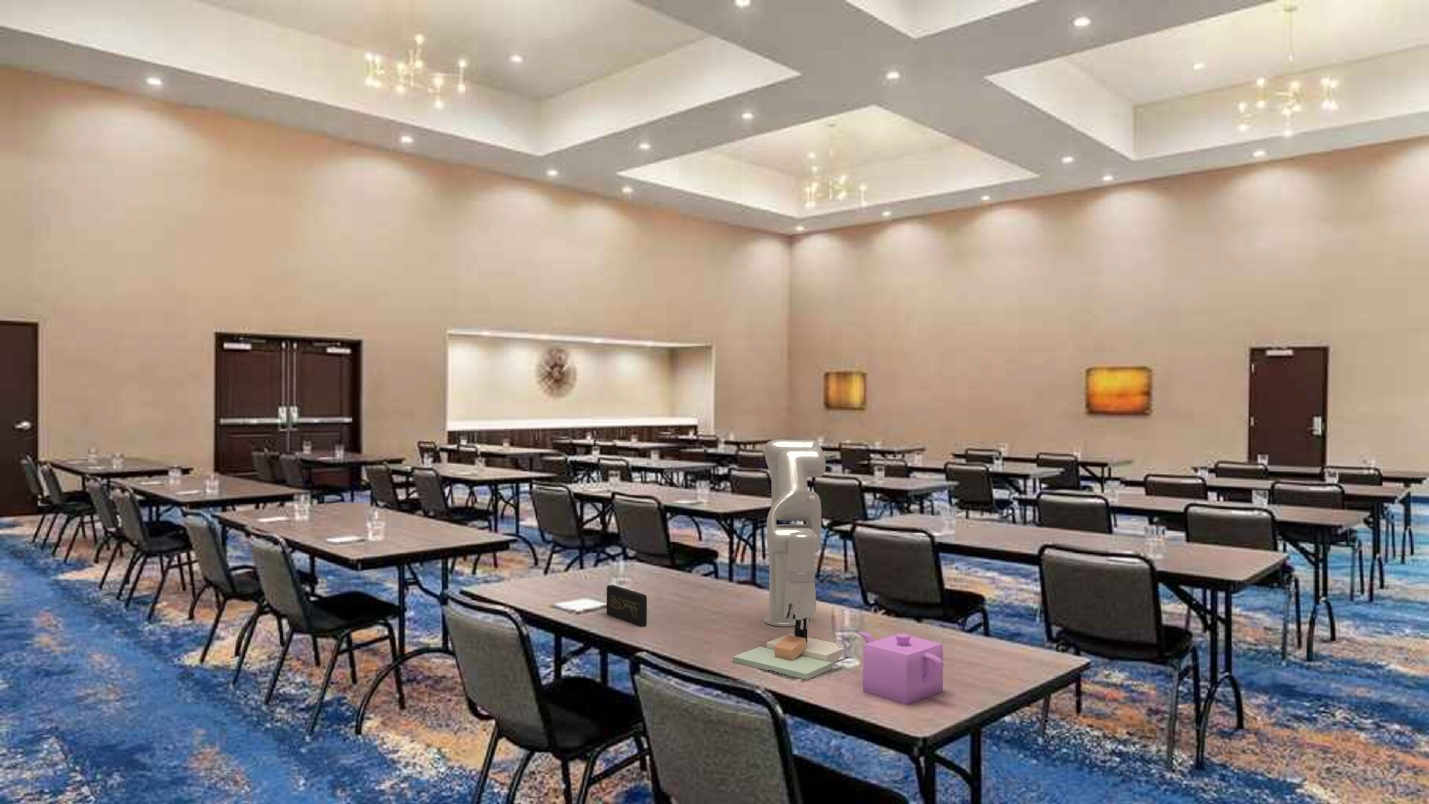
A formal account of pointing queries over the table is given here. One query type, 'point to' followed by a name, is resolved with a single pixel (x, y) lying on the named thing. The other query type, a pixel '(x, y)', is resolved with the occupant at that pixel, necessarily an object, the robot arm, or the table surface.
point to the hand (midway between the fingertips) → (800, 642)
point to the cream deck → (816, 649)
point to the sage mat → (782, 663)
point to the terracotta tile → (790, 647)
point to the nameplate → (627, 605)
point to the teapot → (902, 667)
